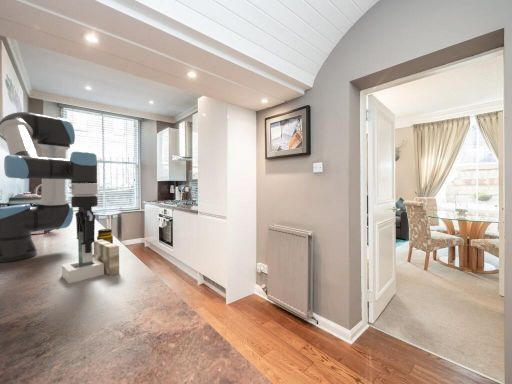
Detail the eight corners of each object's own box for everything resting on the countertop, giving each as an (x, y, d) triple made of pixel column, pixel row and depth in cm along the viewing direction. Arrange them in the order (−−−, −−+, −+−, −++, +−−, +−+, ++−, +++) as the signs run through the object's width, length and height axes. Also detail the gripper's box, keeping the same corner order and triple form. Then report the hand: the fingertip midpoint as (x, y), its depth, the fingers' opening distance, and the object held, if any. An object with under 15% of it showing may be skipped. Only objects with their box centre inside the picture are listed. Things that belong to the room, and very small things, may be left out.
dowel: (77, 270, 82) (76, 231, 82) (90, 267, 85) (89, 230, 85) (80, 273, 80) (80, 233, 79) (94, 270, 83) (93, 231, 83)
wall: (93, 265, 92) (93, 240, 92) (102, 263, 94) (102, 239, 94) (110, 275, 82) (109, 247, 81) (119, 273, 84) (118, 246, 84)
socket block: (61, 276, 81) (61, 264, 81) (94, 268, 89) (94, 258, 89) (68, 283, 75) (68, 271, 75) (104, 274, 83) (103, 263, 82)
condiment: (114, 256, 104) (113, 230, 104) (91, 259, 100) (90, 232, 99) (113, 252, 110) (113, 227, 110) (92, 255, 106) (91, 229, 106)
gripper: (65, 195, 84) (66, 258, 85) (78, 196, 74) (79, 268, 75) (89, 194, 90) (90, 254, 90) (104, 195, 80) (105, 262, 80)
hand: (85, 260), depth 82 cm, fingers closed on dowel, 3 cm apart
